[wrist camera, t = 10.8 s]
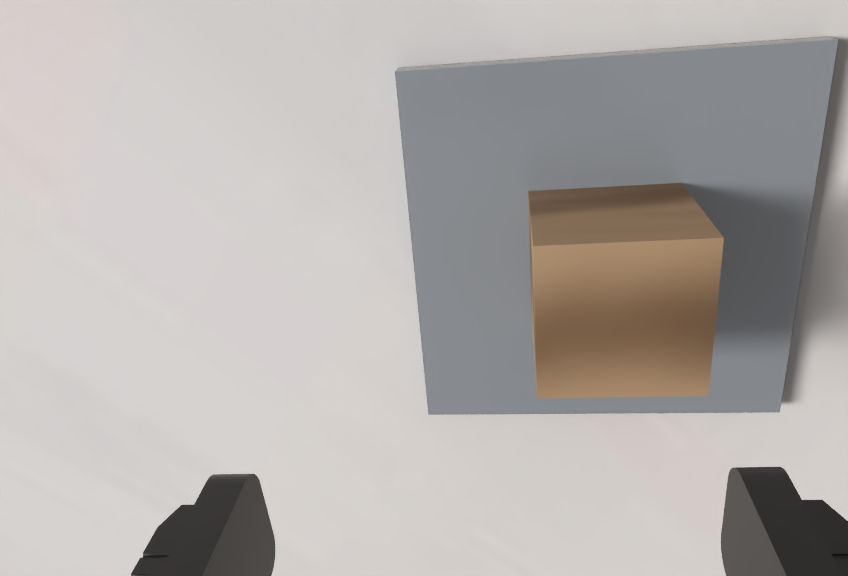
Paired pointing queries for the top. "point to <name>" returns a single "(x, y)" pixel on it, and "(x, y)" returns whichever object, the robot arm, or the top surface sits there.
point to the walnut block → (622, 291)
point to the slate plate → (605, 167)
